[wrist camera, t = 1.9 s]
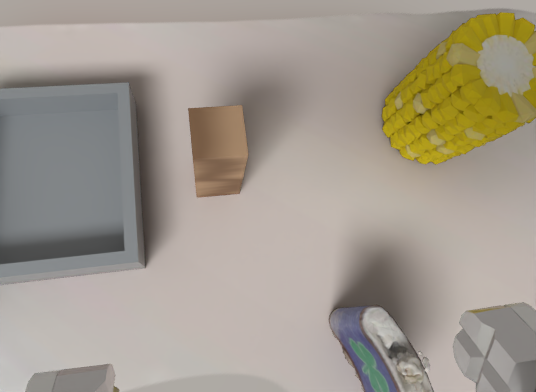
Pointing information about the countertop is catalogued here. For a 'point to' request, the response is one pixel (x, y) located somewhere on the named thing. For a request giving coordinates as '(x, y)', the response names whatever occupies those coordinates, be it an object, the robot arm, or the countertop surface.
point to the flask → (379, 350)
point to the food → (465, 90)
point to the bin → (69, 182)
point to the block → (218, 149)
